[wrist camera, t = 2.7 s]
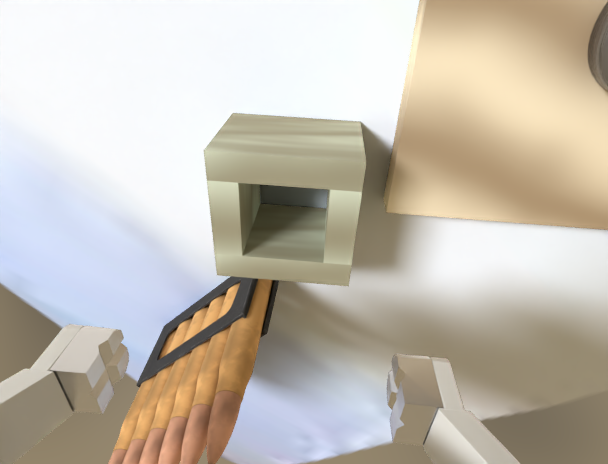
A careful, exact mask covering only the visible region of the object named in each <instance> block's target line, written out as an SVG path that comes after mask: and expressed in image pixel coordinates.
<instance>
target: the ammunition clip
mask: <svg viewBox="0 0 608 464" xmlns="http://www.w3.org/2000/svg"><path fill="white" fill-rule="evenodd" d="M278 283H279V280H269V279H257V278H246V277H234V276H231V277H230V278H228V279H227V280H226V281H224V282H223V283H222V284H220V285H219V286H217V287H216V288H215V289H213V290H212V291H211V292H209V293H208V294H207V295H205V296H204V297H203V298H201V299H200V300H199V301H197V302H196V303H195V304H193V305H192V306H191V307H189V308H188V309H187V310H185V311H184V312H182V313H181V314H180V315H178V316H177V317H176V318H174V319H173V320H172V321H170V322H169V323H168V324H166V325H165V326H164V328H163V330H162V332H161V334H160V336H159V338H158V340H157V343H156V345H155V347H154V349H153V351H152V353H151V355H150V357H149V359H148V362H147V364H146V366H145V368H144V370H143V372H142V374H141V376H140V378H139V380H138V383H137V386H138V387H140V388H139V390H138V392H137V395H136V397H135V399H134V401H133V403H132V405H131V407H130V409H129V411H128V414H127V416H126V418H125V420H124V422H123V425H122V428H121V432H120V435H119V439H118V441H117V444H116V446H115V448H114V450H113V454H112V456H111V458H110V461H109V463H108V464H179V463H180V461H181V464H197V463H198V461H199V459H200V457H201V455H202V453H203V451H204V449H205V447H206V445H207V459H208V464H215V463H216V462H217V461H218V459H219V458H220V457H221V455H222V453H223V451H224V449H225V448H226V446H227V444H228V441H229V439H230V437H231V434H232V432H233V429H234V426H235V423H236V420H237V417H238V413H239V409H240V405H241V402H242V400H243V396H244V393H245V389H246V386H247V384H248V382H249V380H250V377H251V375H252V372H253V368H254V363H255V359H256V354H257V350H258V345H259V341H260V337H262V336H264V335H265V334H267V331H268V327H269V323H270V318H271V314H272V309H273V305H274V301H275V296H276V292H277V287H278Z"/></svg>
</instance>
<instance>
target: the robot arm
mask: <svg viewBox="0 0 608 464" xmlns="http://www.w3.org/2000/svg"><path fill="white" fill-rule="evenodd" d="M123 338H124V337H123V334H122V331H121V330H118V329H110V328H101V327H92V326H83V325H73V324H69V325H67V326H65V327H64V328H63V329H62V330H61V331H60V333H59V334H58V335H57V336H56V337H55V339H54V340H53V341H52V343H51V344H50V345H49V346H48V347H47V349H46V350H45V351H44V352H43V354H42V355H41V356H40V357H39V359H38V360H37V361H36V362H35V363H34V365H33V366H32V367H31V369H24V370H22V371H20V372H18V373H17V374H15V375H13V376H11V377H10V378H8V379H6V380H4V381H3V382H1V383H0V464H13V463H14V462H15V461H17V460H18V459H19V458H20V457H21V456H23V455H24V454H25V453H26V452H28V451H29V450H30V449H31V448H32V447H34V446H35V445H36V444H37V443H38V442H40V441H41V440H42V439H43V438H44V437H46V436H47V435H48V434H49V433H50V432H52V431H53V430H54V429H55V428H56V427H58V426H59V425H60V424H61V423H63V422H64V421H65V420H66V419H67V418H69V417H70V416H71V415H72V414H73V412H86V413H100V414H103V412H104V410H105V408H106V406H107V405H108V403H109V401H110V399H111V398H112V396H113V394H114V390H113V385H114V384H116V383H117V382H118V381H120V380H121V379H122V377H123V376H124V374H125V372H126V369H127V365H128V362H129V353H128V350H127V347H125V346H124V345H123V344H122V343H121V342H122V340H123ZM392 368H393V370H391V371H390V372H389V375H388V379H387V401H388V406H389V407H390V408H391V409H392V413H391V417H390V426H391V434H392V441H393V442H394V443H402V444H410V445H418V446H423V449H424V450H425V452H426V453H427V455H428V456H429V458H430V459H431V461H432V462H433V464H520V463H519V462H518V461H517V460H516V458H515V457H514V456H513V455H512V454H511V453H510V452H509V451H508V450H507V449H506V448H505V447H504V446H503V445H502V444H501V443H500V442H499V441H498V440H497V439H496V438H495V437H494V435H493V434H491V432H489V430H488V429H487V428H486V427H485V426H484V425H483V424H482V423H481V422H480V421H479V420H478V419H477V418H476V417H475V416H474V415H473V414H472V413H471V411H466V410H464V406H463V403H462V400H461V397H460V393H459V390H458V387H457V384H456V380H455V377H454V374H453V370H452V367H451V364H450V361H449V360H448V359H447V358H437V357H428V356H417V355H404V354H395V355H394V356H393V359H392Z"/></svg>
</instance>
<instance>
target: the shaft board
mask: <svg viewBox="0 0 608 464" xmlns="http://www.w3.org/2000/svg"><path fill="white" fill-rule="evenodd" d="M383 200H384V204H385V209H386V213H396V214H409V215H422V216H435V217H448V218H461V219H474V220H487V221H500V222H513V223H526V224H539V225H552V226H565V227H578V228H591V229H604V230H608V0H420V1H419V7H418V12H417V18H416V23H415V28H414V34H413V39H412V45H411V50H410V56H409V61H408V67H407V72H406V78H405V83H404V89H403V94H402V100H401V105H400V111H399V116H398V122H397V127H396V133H395V138H394V143H393V149H392V154H391V160H390V165H389V171H388V176H387V182H386V187H385V193H384V198H383Z"/></svg>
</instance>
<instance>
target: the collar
mask: <svg viewBox="0 0 608 464" xmlns="http://www.w3.org/2000/svg"><path fill="white" fill-rule="evenodd" d="M204 157H205V167H206V176H207V185H208V195H209V204H210V213H211V223H212V232H213V241H214V251H215V260H216V270H217V275H222V276H234V277H246V278H257V279H269V280H281V281H293V282H305V283H317V284H328V285H340V286H349V279H350V273H351V266H352V259H353V252H354V245H355V238H356V231H357V225H358V218H359V211H360V204H361V197H362V190H363V183H364V177H365V170H366V163H367V162H366V155H365V148H364V142H363V135H362V128H361V122H356V121H341V120H327V119H312V118H297V117H282V116H268V115H253V114H238V113H233V114H232V115H231V116H230V118H229V119H228V120H227V121H226V123H225V124H224V125H223V127H222V128H221V129H220V130H219V132H218V133H217V134H216V136H215V137H214V138H213V139H212V141H211V142H210V143H209V145H208V146H207V147H206V148H205V150H204ZM260 184H261V185H274V186H288V187H301V188H314V189H328V196H327V207H326V208H313V207H300V206H287V205H274V204H261V203H260Z"/></svg>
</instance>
